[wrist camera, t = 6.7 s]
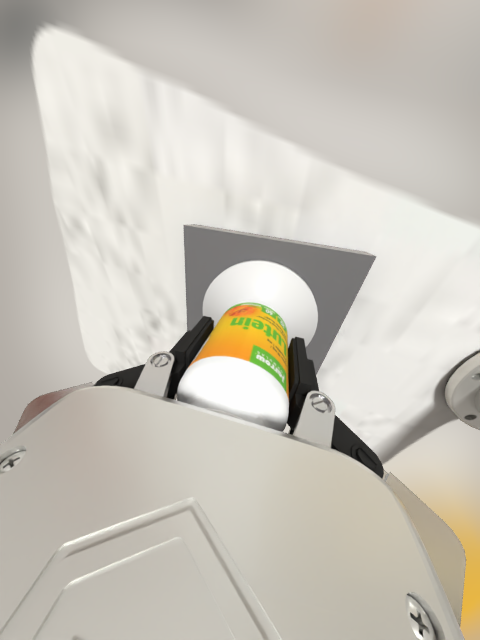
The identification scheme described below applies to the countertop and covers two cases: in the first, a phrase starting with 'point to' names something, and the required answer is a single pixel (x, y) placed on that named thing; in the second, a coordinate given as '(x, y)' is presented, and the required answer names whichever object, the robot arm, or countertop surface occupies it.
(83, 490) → the robot arm
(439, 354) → the countertop surface
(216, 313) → the scale
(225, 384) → the supplement bottle
